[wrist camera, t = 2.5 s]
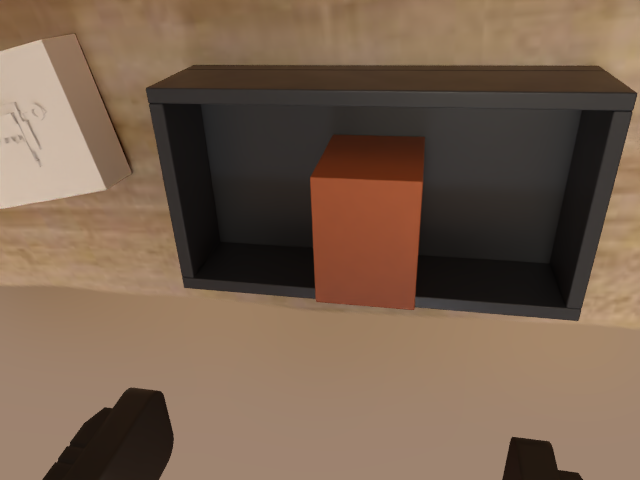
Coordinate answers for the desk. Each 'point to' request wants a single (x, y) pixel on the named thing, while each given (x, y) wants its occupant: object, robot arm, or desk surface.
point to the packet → (367, 220)
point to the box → (53, 125)
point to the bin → (438, 178)
